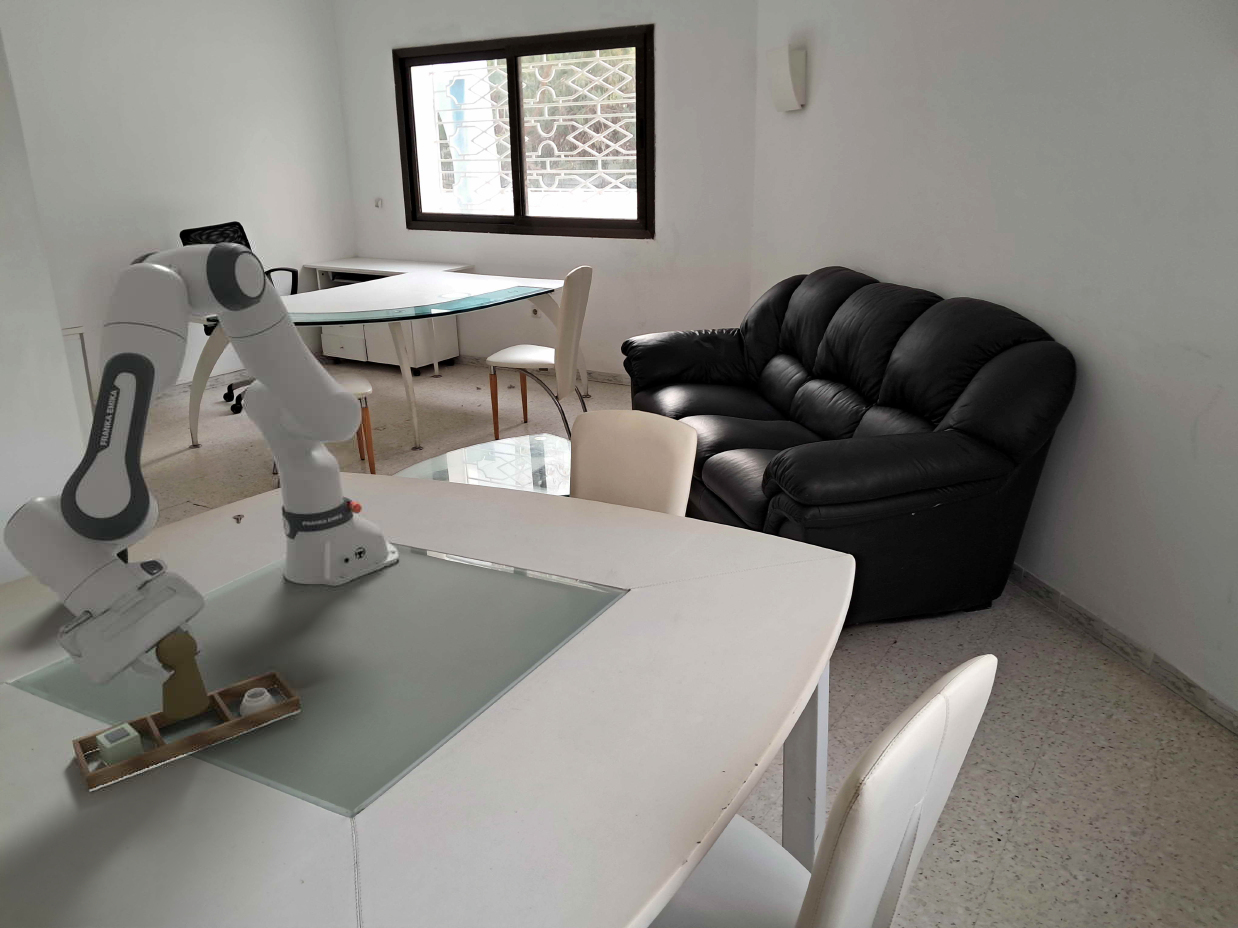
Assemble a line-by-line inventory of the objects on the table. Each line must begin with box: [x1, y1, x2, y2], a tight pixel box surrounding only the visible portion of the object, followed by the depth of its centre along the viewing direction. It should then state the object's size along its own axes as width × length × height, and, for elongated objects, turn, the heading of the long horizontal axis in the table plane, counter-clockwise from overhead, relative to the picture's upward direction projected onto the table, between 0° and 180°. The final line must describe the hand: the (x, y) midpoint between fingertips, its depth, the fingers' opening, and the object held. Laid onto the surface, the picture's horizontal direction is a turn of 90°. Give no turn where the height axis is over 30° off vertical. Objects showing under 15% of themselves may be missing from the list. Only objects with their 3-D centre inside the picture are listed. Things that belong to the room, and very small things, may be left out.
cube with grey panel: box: [96, 723, 144, 766], centre depth 120 cm, size 4×4×4 cm
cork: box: [154, 633, 210, 720], centre depth 122 cm, size 6×6×11 cm
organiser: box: [72, 669, 302, 791], centre depth 125 cm, size 28×10×2 cm, turn 130°
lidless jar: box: [239, 688, 277, 717], centre depth 131 cm, size 5×3×5 cm
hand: (183, 665), depth 122 cm, fingers closed on cork, 5 cm apart
